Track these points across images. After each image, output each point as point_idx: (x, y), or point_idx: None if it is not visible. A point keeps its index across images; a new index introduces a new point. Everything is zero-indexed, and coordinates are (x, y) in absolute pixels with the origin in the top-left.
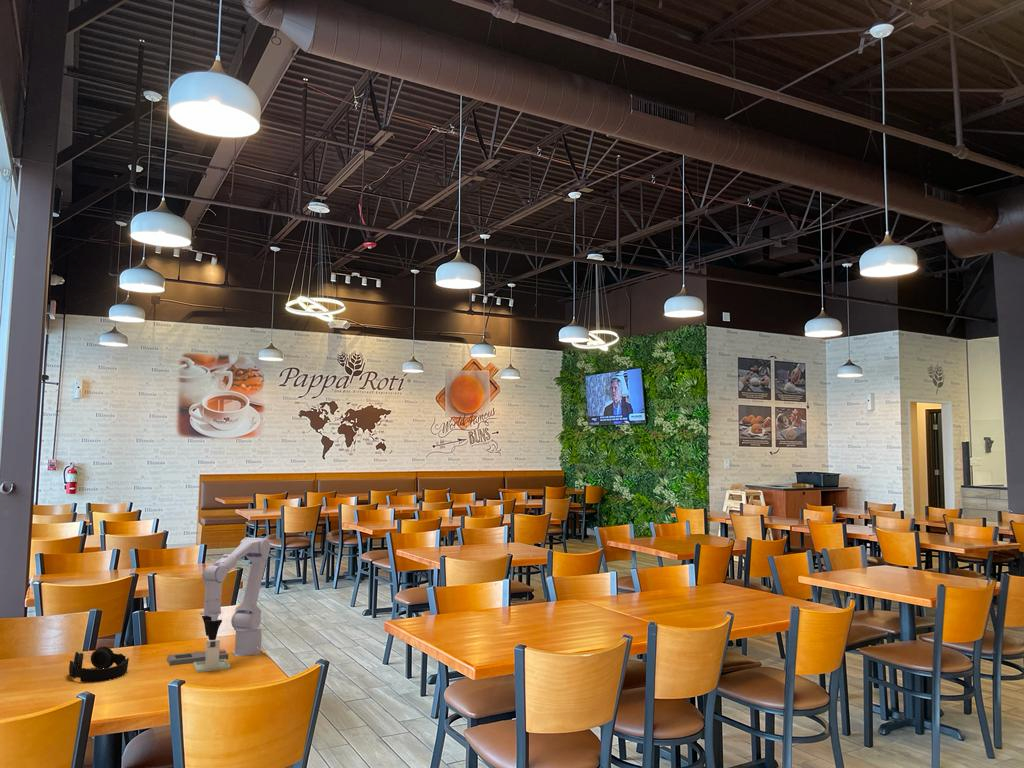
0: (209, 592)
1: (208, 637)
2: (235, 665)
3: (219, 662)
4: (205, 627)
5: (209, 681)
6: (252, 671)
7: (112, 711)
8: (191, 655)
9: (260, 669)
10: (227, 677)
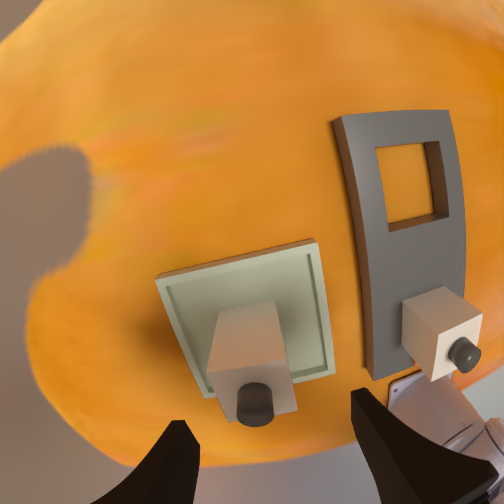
0: None
1: (177, 431)
2: None
3: (319, 350)
4: (380, 436)
5: (60, 323)
6: None
7: None
8: (425, 222)
9: None
10: (104, 376)
